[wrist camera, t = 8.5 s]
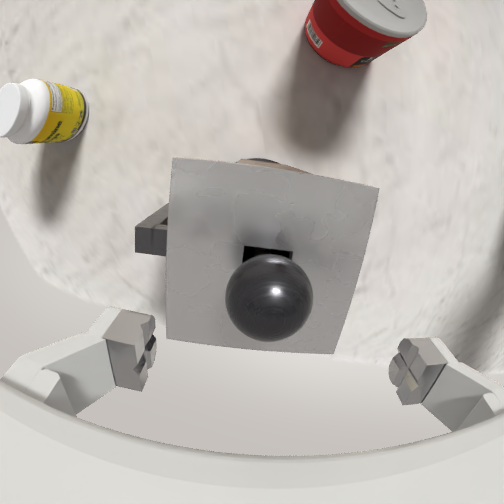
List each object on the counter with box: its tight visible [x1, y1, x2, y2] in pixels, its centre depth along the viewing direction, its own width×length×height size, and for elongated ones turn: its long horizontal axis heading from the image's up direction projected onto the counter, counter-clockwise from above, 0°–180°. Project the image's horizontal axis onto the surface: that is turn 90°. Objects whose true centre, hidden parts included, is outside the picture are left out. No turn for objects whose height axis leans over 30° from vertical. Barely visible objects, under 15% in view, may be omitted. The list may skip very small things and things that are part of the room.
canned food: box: [305, 0, 427, 67], centre depth 17 cm, size 8×8×11 cm
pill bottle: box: [0, 79, 89, 144], centre depth 19 cm, size 6×6×11 cm
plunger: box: [225, 245, 313, 342], centre depth 18 cm, size 7×7×17 cm
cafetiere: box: [135, 157, 379, 354], centre depth 21 cm, size 13×10×15 cm
